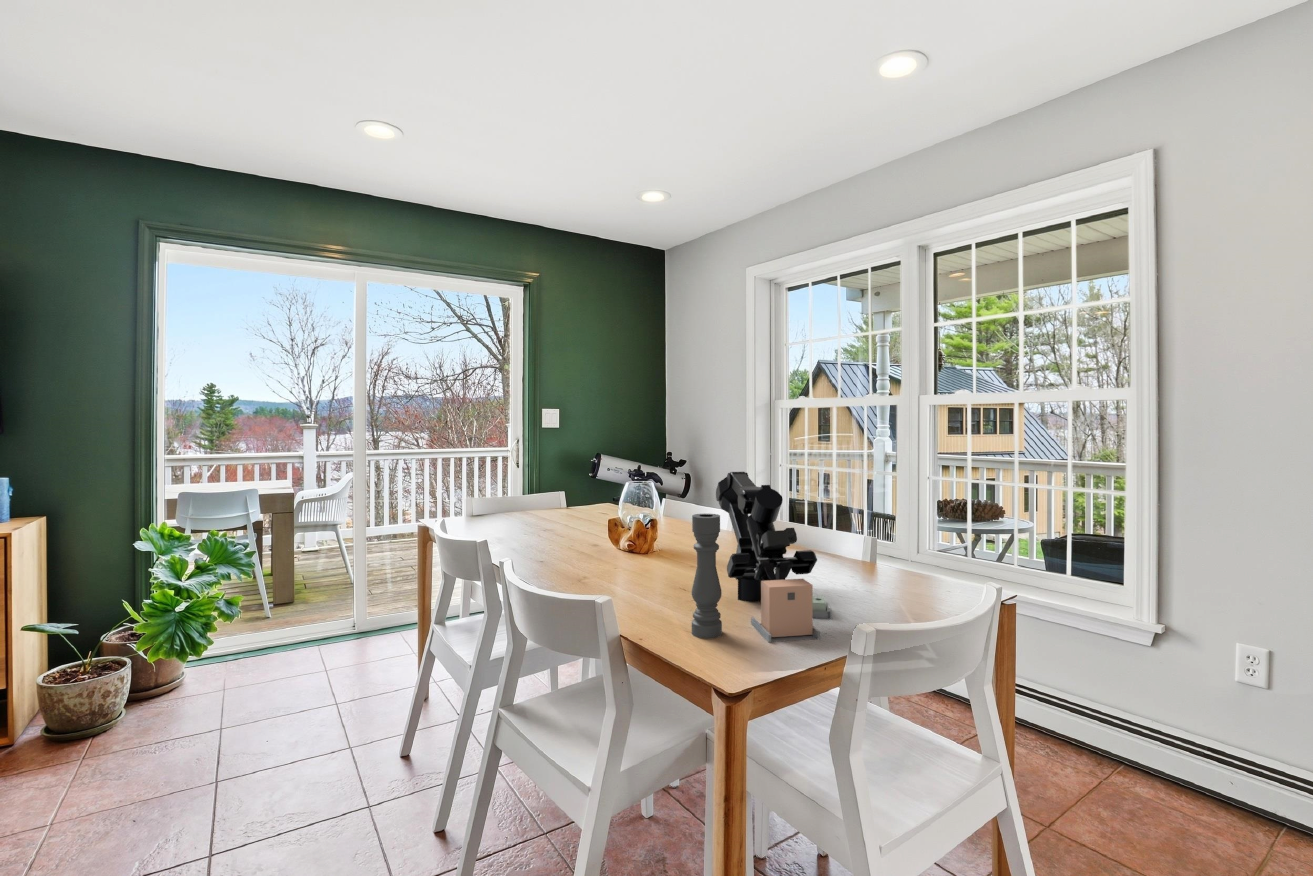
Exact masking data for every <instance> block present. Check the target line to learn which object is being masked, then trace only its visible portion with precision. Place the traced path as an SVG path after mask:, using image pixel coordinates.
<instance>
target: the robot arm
mask: <svg viewBox="0 0 1313 876" xmlns="http://www.w3.org/2000/svg"><path fill="white" fill-rule="evenodd" d="M715 499H716V501H717V502H718V504H719V507H720V509H721V510H723V511H724V512H726V513H728V517H729V519H730V522H731V526H732V529H733V533H734V536H735V539H736V542H737V544H736V553H732V554H731V555H730V557H729V559H728V561H727V564H726V571H727V572H726V573H727V577H728V578H730V579H734V578H735V580H737V600H738V601H744V602H749V603H757V602H761V581H767V580H786V579H787V577H788V575H789V574H790V572H791V571H792V573H794V574H795V575H796V576H797V575H808V574H810V573H812V571H813V569H814V567H815V565H816V563H817V562H818V558H817V555H816V552H815V551H813V550H811V549H807V550H806V549H803V550H796V551H795V552H794V554H793V556H790V557H789V556H788V557H785V556H784V555H786V554H787V552H788V551H787V547H790V546H791V545H794V544H795V543H797V541H798V537H797V532H796V529H795V527H786V528H784V529H783V530H776V528H775V522H776V521H777V518H778V516H779V514H780V510H781V507H782V504H783V496H782V495H781V494H780V492H778V491H777V490H776V489H773V488H771V484H761V485H760V486H757V485H756V484H755V483H754V482H753V480H752V479H750V477H749V474H748V472H745V471H730V472H728V473H727V474H726V476H725V477H724V478H723V479H721V480H720V481H718V483H717V486H716V489H715Z"/></svg>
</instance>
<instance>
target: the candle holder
mask: <svg viewBox="0 0 1313 876" xmlns="http://www.w3.org/2000/svg"><path fill="white" fill-rule="evenodd" d="M691 520H692V521H691V524H692V525H691V530H692V533H693V537H694V538H695V541H696V542H695V543H694V544H693V550H695V552H696V570H695V573H694V579H693V584H692V588H691V597H692V600H693V601H694V602H695V607H696V608H695V610H694V612H692V618H693V619H692V620H691V635H692V636H693V637H695V638H698V639H704V640H705V639H710V640H711V639H716V638H719V637H721V636H722V635H723V630H722V628H723V621H722V620H721V616H722V615H721V612H720V611H719V609H718V603H719V602H720V600H721V599H722V587H721V584H720V579H719V578H720V577H719V575H718V570H717V560H716V559H717V557H716V555H717V551H718V550H720V545H719V544H718V543H717V540H718V538H719V533H720V532H721V515H720V514H716V513H695V514H693V515H692V518H691Z"/></svg>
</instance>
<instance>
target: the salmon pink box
mask: <svg viewBox="0 0 1313 876" xmlns="http://www.w3.org/2000/svg"><path fill="white" fill-rule="evenodd" d="M813 587H814V586H813V584H811V583H810V582H809V581H808V580H806V579H805V578H791V579H789V578H788V579H787V578H785V580H767V581H761V601H760V624H761V625H762V626H763V627H764V628H765V629H766V630H767V631H768V632H769V633H770V634H771V637H784V636H798V635H813V626H814V625H813V623H814V622H813V620H814V618H813V596H814V595H813Z"/></svg>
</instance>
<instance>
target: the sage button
mask: <svg viewBox="0 0 1313 876" xmlns="http://www.w3.org/2000/svg"><path fill="white" fill-rule="evenodd" d="M826 603H827V601H826V598H825V596H823V595H822V596H820V595H813V610H818V611H826Z"/></svg>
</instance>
